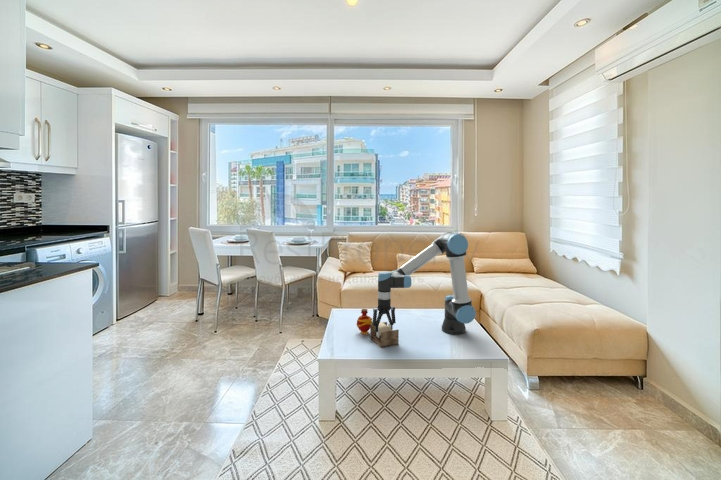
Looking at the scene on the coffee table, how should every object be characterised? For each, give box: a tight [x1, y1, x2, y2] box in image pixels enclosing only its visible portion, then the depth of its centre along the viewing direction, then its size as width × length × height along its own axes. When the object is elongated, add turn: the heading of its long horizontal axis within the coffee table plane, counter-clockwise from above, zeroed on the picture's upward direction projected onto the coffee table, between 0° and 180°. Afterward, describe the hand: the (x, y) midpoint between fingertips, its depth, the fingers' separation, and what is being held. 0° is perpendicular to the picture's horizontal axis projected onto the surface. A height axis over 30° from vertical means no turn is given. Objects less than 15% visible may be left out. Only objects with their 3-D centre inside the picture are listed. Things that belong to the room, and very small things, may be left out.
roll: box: [376, 321, 393, 336], centre depth 205 cm, size 7×12×7 cm, turn 22°
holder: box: [369, 321, 399, 349], centre depth 205 cm, size 11×16×9 cm
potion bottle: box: [356, 308, 373, 335], centre depth 220 cm, size 10×10×15 cm
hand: (383, 336), depth 205 cm, fingers closed on roll, 7 cm apart
